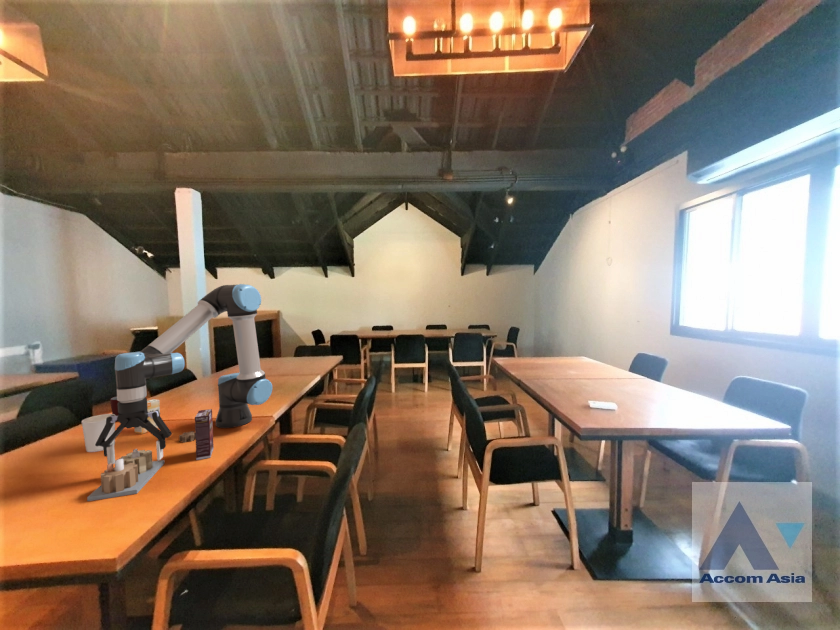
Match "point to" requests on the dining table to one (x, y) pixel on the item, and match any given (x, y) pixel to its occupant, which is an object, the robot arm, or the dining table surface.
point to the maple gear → (140, 460)
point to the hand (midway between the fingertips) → (136, 461)
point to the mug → (114, 406)
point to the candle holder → (95, 431)
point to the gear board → (129, 490)
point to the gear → (187, 436)
